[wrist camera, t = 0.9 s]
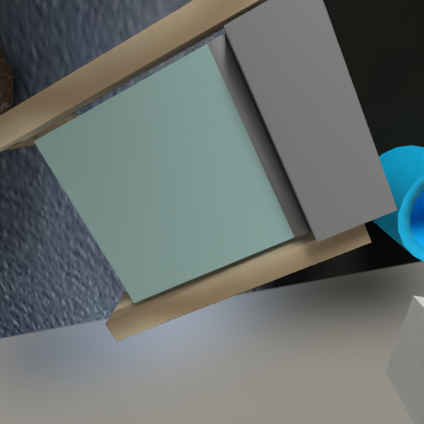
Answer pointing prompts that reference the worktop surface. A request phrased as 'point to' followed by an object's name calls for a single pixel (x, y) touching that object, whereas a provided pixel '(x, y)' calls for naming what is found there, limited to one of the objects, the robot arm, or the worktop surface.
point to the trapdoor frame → (119, 75)
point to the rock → (5, 85)
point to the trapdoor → (224, 152)
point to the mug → (405, 197)
